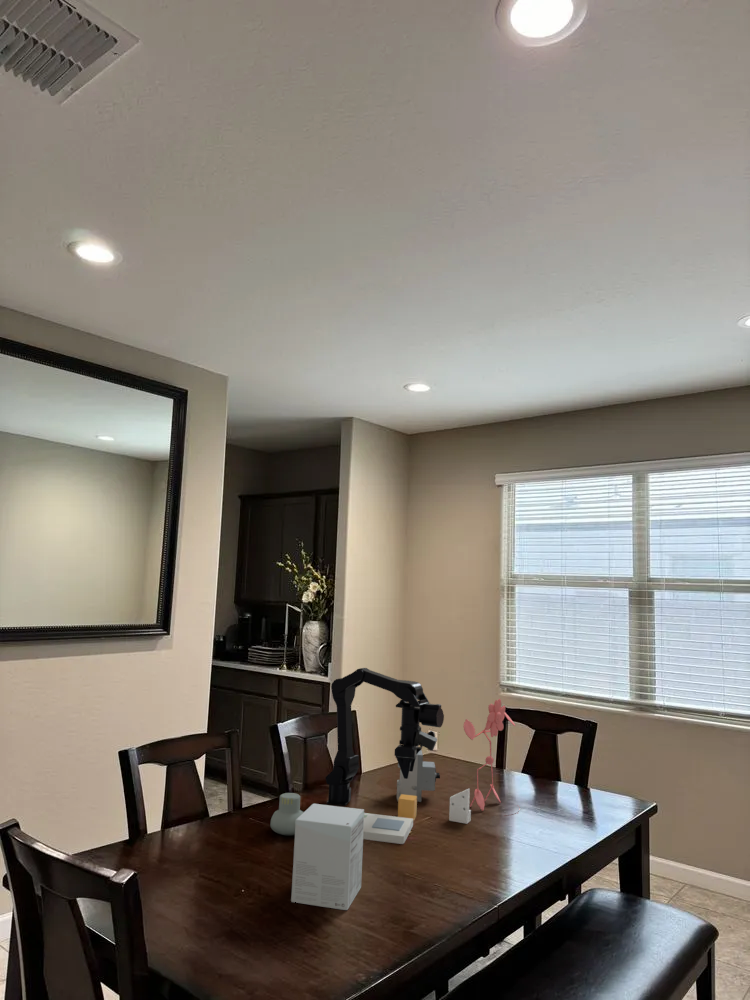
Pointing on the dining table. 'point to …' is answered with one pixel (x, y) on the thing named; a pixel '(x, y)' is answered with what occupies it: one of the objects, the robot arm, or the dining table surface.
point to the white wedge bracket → (460, 807)
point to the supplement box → (328, 856)
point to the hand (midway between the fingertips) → (408, 774)
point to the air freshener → (286, 814)
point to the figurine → (494, 725)
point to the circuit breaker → (418, 778)
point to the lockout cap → (407, 806)
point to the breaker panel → (386, 828)
